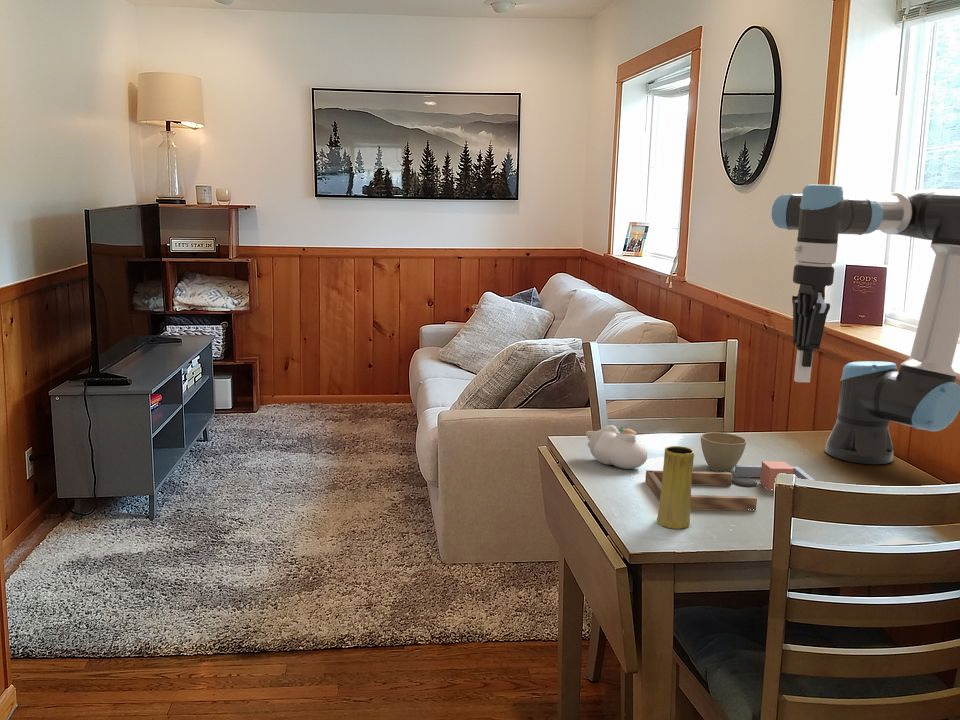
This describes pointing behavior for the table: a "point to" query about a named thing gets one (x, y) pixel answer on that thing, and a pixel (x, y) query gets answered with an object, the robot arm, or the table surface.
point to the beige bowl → (722, 450)
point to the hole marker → (744, 482)
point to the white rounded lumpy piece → (617, 447)
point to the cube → (773, 472)
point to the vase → (676, 488)
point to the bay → (756, 471)
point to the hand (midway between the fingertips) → (801, 381)
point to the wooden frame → (706, 500)
